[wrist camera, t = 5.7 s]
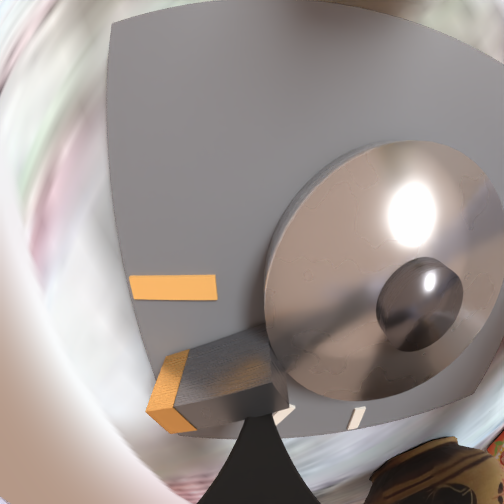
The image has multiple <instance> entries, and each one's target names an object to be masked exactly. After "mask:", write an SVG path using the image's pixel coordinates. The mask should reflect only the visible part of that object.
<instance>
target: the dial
mask: <svg viewBox="0 0 504 504" xmlns="http://www.w3.org/2000/svg"><path fill="white" fill-rule="evenodd" d="M503 278H504V210H503V207H502V204H501V201H500V198H499V196H498V194H497V192H496V190H495V188H494V186H493V184H492V183H491V181H490V180H489V178H488V177H487V175H486V174H485V173H484V171H483V170H482V169H481V168H480V167H479V166H478V165H477V164H476V163H475V162H474V161H473V160H471V159H470V158H468V157H467V156H466V155H464V154H463V153H461V152H459V151H457V150H455V149H453V148H451V147H449V146H446V145H443V144H439V143H435V142H430V141H415V140H402V141H384V142H377V143H372V144H369V145H365V146H362V147H359V148H356V149H354V150H352V151H350V152H348V153H346V154H344V155H341V156H339V157H338V158H336V159H335V160H333V161H332V162H330V163H329V164H328V165H326V166H325V167H323V168H322V169H321V170H320V171H319V172H317V173H316V174H315V175H314V176H313V177H312V178H311V179H310V180H309V181H308V182H307V183H306V184H305V185H304V186H303V187H302V189H301V190H300V191H299V192H298V193H297V194H296V196H295V197H294V198H293V199H292V201H291V203H290V204H289V206H288V207H287V209H286V210H285V212H284V214H283V215H282V217H281V219H280V221H279V223H278V225H277V228H276V230H275V232H274V234H273V237H272V240H271V243H270V246H269V249H268V253H267V257H266V263H265V269H264V287H263V291H264V310H265V320H266V322H265V323H263V324H260V325H257V326H255V327H252V328H249V329H247V330H244V331H241V332H239V333H236V334H233V335H230V336H227V337H225V338H222V339H219V340H216V341H213V342H210V343H207V344H204V345H201V346H198V347H195V348H192V349H188V350H185V351H182V352H178V353H175V354H172V355H169V356H166V358H165V360H164V363H163V365H162V368H161V371H160V373H159V376H158V378H157V381H156V384H155V386H154V389H153V392H152V395H151V397H150V400H149V403H148V406H147V408H146V411H145V412H146V413H147V414H148V415H149V416H150V417H152V418H153V419H154V420H155V421H156V422H157V423H158V424H159V425H161V426H162V427H163V428H164V429H165V430H166V431H167V432H169V433H170V434H173V433H182V432H189V431H196V430H197V429H201V428H207V427H213V426H218V425H223V424H228V423H233V422H238V421H242V420H245V418H247V417H259V416H263V415H266V414H270V413H274V412H277V411H281V410H284V409H288V408H290V406H289V397H288V389H287V380H286V372H287V373H288V374H289V375H290V376H291V377H292V378H293V379H294V380H295V381H297V382H298V383H299V384H301V385H302V386H304V387H305V388H307V389H309V390H311V391H313V392H315V393H317V394H319V395H322V396H325V397H329V398H332V399H338V400H343V401H370V400H377V399H382V398H387V397H390V396H394V395H397V394H400V393H403V392H405V391H408V390H410V389H412V388H414V387H416V386H419V385H420V384H422V383H424V382H426V381H428V380H429V379H431V378H432V377H434V376H436V375H437V374H438V373H440V372H441V371H442V370H444V369H445V368H446V367H448V366H449V365H450V364H451V363H452V362H453V361H454V360H455V359H457V358H458V357H459V356H460V355H461V354H462V352H463V351H464V350H465V349H466V348H467V347H468V346H469V345H470V343H471V342H472V341H473V340H474V338H475V337H476V336H477V334H478V333H479V332H480V330H481V329H482V327H483V326H484V324H485V322H486V320H487V319H488V317H489V315H490V313H491V311H492V309H493V307H494V305H495V302H496V300H497V298H498V295H499V292H500V289H501V286H502V283H503ZM285 371H286V372H285Z"/></svg>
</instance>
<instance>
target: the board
mask: <svg viewBox="0 0 504 504" xmlns="http://www.w3.org/2000/svg"><path fill="white" fill-rule="evenodd" d="M107 139H108V156H109V169H110V180H111V189H112V198H113V206H114V213H115V220H116V226H117V232H118V238H119V244H120V249H121V255H122V260H123V265H124V269H125V274H126V279H127V283H128V287H129V291H130V296H131V300H132V303H133V307H134V311H135V315H136V319H137V322H138V326H139V329H140V333H141V336H142V339H143V342H144V346H145V349H146V352H147V355H148V358H149V361H150V364H151V367H152V370H153V373H154V376H155V378H156V381H157V378H158V376H159V373H160V371H161V368H162V365H163V363H164V360H165V358H166V356H169V355H172V354H175V353H178V352H182V351H185V350H188V349H192V348H195V347H198V346H201V345H204V344H207V343H210V342H213V341H216V340H219V339H222V338H225V337H227V336H230V335H233V334H236V333H239V332H241V331H244V330H247V329H249V328H252V327H255V326H257V325H260V324H263V323H265V322H266V320H265V310H264V291H263V287H264V269H265V263H266V257H267V253H268V249H269V246H270V243H271V240H272V237H273V234H274V232H275V230H276V228H277V225H278V223H279V221H280V219H281V217H282V215H283V214H284V212H285V210H286V209H287V207H288V206H289V204H290V203H291V201H292V199H293V198H294V197H295V196H296V194H297V193H298V192H299V191H300V190H301V189H302V187H303V186H304V185H305V184H306V183H307V182H308V181H309V180H310V179H311V178H312V177H313V176H314V175H315V174H316V173H317V172H319V171H320V170H321V169H322V168H323V167H325V166H326V165H328V164H329V163H330V162H332V161H333V160H335V159H336V158H338V157H339V156H341V155H344V154H346V153H348V152H350V151H352V150H354V149H356V148H359V147H362V146H365V145H369V144H372V143H377V142H384V141H402V140H415V141H430V142H435V143H439V144H443V145H446V146H449V147H451V148H453V149H455V150H457V151H459V152H461V153H463V154H464V155H466V156H467V157H468V158H470V159H471V160H473V161H474V162H475V163H476V164H477V165H478V166H479V167H480V168H481V169H482V170H483V171H484V173H485V174H486V175H487V177H488V178H489V180H490V181H491V183H492V184H493V186H494V188H495V190H496V192H497V194H498V196H499V198H500V201H501V204H502V207H503V210H504V64H502V63H501V62H499V61H497V60H496V59H494V58H492V57H490V56H489V55H487V54H485V53H483V52H481V51H480V50H478V49H476V48H474V47H472V46H470V45H468V44H466V43H464V42H462V41H460V40H457V39H455V38H453V37H451V36H448V35H446V34H444V33H441V32H439V31H436V30H434V29H431V28H429V27H426V26H423V25H421V24H418V23H415V22H412V21H409V20H406V19H402V18H399V17H396V16H392V15H389V14H385V13H381V12H377V11H373V10H368V9H364V8H359V7H354V6H349V5H343V4H336V3H330V2H322V1H313V0H218V1H209V2H201V3H194V4H188V5H182V6H177V7H172V8H167V9H162V10H158V11H153V12H149V13H145V14H142V15H138V16H135V17H131V18H128V19H124V20H121V21H118V22H115V23H112V26H111V35H110V45H109V56H108V72H107ZM503 337H504V278H503V283H502V286H501V289H500V292H499V295H498V298H497V300H496V302H495V305H494V307H493V309H492V311H491V313H490V315H489V317H488V319H487V320H486V322H485V324H484V326H483V327H482V329H481V330H480V332H479V333H478V334H477V336H476V337H475V338H474V340H473V341H472V342H471V343H470V345H469V346H468V347H467V348H466V349H465V350H464V351H463V352H462V354H461V355H460V356H459V357H458V358H457V359H455V360H454V361H453V362H452V363H451V364H450V365H449V366H448V367H446V368H445V369H444V370H442V371H441V372H440V373H438V374H437V375H436V376H434V377H432V378H431V379H429V380H428V381H426V382H424V383H422V384H420V385H419V386H416V387H414V388H412V389H410V390H408V391H405V392H403V393H400V394H397V395H394V396H390V397H387V398H382V399H377V400H370V401H343V400H338V399H332V398H329V397H325V396H322V395H319V394H317V393H315V392H313V391H311V390H309V389H307V388H305V387H304V386H302V385H301V384H299V383H298V382H297V381H295V380H294V379H293V378H292V377H291V376H290V375H289V374H288V373H287V372H286V371H285V372H286V380H287V389H288V397H289V406H290V408H288V409H284V410H281V411H277V412H274V413H272V416H273V419H274V422H275V425H276V427H277V430H278V433H279V435H280V437H281V438H294V437H306V436H315V435H324V434H331V433H338V432H344V431H350V430H356V429H361V428H366V427H371V426H376V425H380V424H384V423H388V422H392V421H396V420H400V419H404V418H407V417H411V416H414V415H417V414H421V413H424V412H427V411H430V410H433V409H436V408H439V407H442V406H444V405H447V404H450V403H452V402H455V401H457V400H460V399H462V398H465V397H467V396H470V395H472V394H474V392H475V390H476V389H477V387H478V385H479V384H480V382H481V380H482V379H483V377H484V375H485V373H486V371H487V370H488V368H489V366H490V364H491V362H492V360H493V358H494V356H495V354H496V352H497V350H498V348H499V346H500V344H501V342H502V339H503ZM244 421H245V420H242V421H238V422H233V423H228V424H223V425H218V426H213V427H207V428H201V429H197V430H196V431H189V432H182V433H178V435H180V436H190V437H201V438H217V439H238V436H239V434H240V431H241V429H242V426H243V424H244Z"/></svg>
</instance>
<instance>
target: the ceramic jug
mask: <svg viewBox="0 0 504 504" xmlns="http://www.w3.org/2000/svg"><path fill="white" fill-rule="evenodd" d="M369 480H370V481H372V483H373V484H372V487H371V489H370V492H369V494H368V496H367V498H366V500H365V502H364V504H504V467H503V466H502V464H501V463H500V462H499V461H498V460H497V459H496V458H495V457H494V456H492V455H491V454H489V453H488V452H486V451H483V450H480V449H475V448H469V447H465V446H460V445H458V441H457V438H456V437H453V436H451V437H447V438H442V439H438V440H433V441H430V442H428V443H426V444H424V445H422V446H419V447H417V448H415V449H413V450H411V451H408V452H406V453H403V454H401V455H398V456H396V457H394V458H392V459H390V460H388V461H387V462H386V463H385V464H384V465H383V466H382V467H381V468H380V469H378V470H377V471H375V472H374V473H373V474H372V476H371V477H370V479H369Z"/></svg>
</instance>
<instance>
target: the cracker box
mask: <svg viewBox="0 0 504 504" xmlns="http://www.w3.org/2000/svg"><path fill="white" fill-rule="evenodd" d="M487 451H488V453H489V454H491V455H492V456H494V457H495V458H496V459H497V460H498V461H499V462H500V463H501V464H502V466H503V467H504V431H503V432H502V433H501V434H500V435H499V436H498V438H497V439H496V440H495V441H494V442H493V443H492V444H491V445H490V446H489V447H488V448H487Z"/></svg>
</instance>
